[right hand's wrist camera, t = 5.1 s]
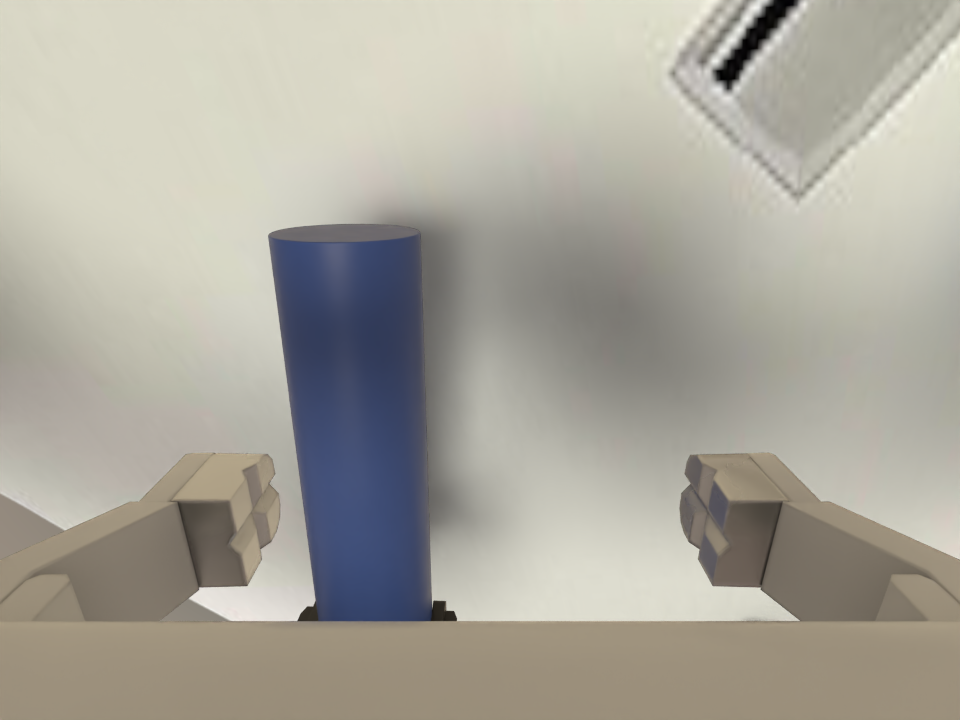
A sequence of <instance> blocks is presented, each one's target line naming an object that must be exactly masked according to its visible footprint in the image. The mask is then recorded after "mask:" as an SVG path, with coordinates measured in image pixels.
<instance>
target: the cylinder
mask: <svg viewBox="0 0 960 720" xmlns="http://www.w3.org/2000/svg"><path fill="white" fill-rule="evenodd" d="M268 238H269V246H270V253H271V261H272V269H273V276H274V284H275V292H276V299H277V307H278V315H279V322H280V330H281V338H282V345H283V353H284V361H285V368H286V376H287V384H288V391H289V399H290V407H291V414H292V422H293V430H294V437H295V445H296V453H297V460H298V468H299V476H300V483H301V491H302V499H303V506H304V514H305V522H306V529H307V537H308V545H309V552H310V560H311V568H312V575H313V583H314V590H315V598H316V606H317V613H318V621H431V618H432V592H431V560H430V527H429V495H428V462H427V430H426V398H425V365H424V333H423V300H422V268H421V235H420V231H419V230H417V229H414V228H410V227H403V226H394V225H378V224H334V225H315V226H303V227H294V228H287V229H282V230H278V231H274V232H272V233H270V234H269V235H268Z"/></svg>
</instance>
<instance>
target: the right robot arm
mask: <svg viewBox="0 0 960 720" xmlns="http://www.w3.org/2000/svg"><path fill="white" fill-rule="evenodd" d="M274 475H275V470H274V465H273V460H272V458H271V457H270V456H269V455H268V454H234V453H217V454H216V453H191V454H186V455H185V456H184V457H183V458H182V459H181V460H180V461H179V462H178V463H177V464H176V465H175V466H174V467H173V468H172V469H171V470H170V471H169V472H168V473H167V474H166V475H165V476H164V477H163V478H162V479H161V480H160V481H159V482H158V483H157V484H156V485H155V486H154V487H153V488H152V489H151V490H150V491H149V492H148V493H147V494H146V495H145V496H144V497H143V498H142V499H141V500H140V501H139V502H128V503H126V504H124V505H122V506H120V507H117V508H115V509H113V510H111V511H108V512H106V513H104V514H102V515H99V516H97V517H95V518H93V519H90V520H88V521H86V522H84V523H81V524H79V525H77V526H75V527H72V528H70V529H68V530H66V531H63V532H61V533H59V534H57V535H54V536H52V537H50V538H48V539H46V540H43V541H41V542H39V543H37V544H34V545H32V546H30V547H28V548H25V549H23V550H21V551H19V552H16V553H14V554H12V555H10V556H7V557H5V558H3V559H1V560H0V720H960V560H959V559H957V558H954V557H952V556H950V555H948V554H946V553H943V552H941V551H939V550H937V549H934V548H932V547H930V546H928V545H925V544H923V543H921V542H919V541H916V540H914V539H912V538H910V537H908V536H905V535H903V534H901V533H899V532H896V531H894V530H892V529H890V528H887V527H885V526H883V525H881V524H878V523H876V522H874V521H872V520H870V519H867V518H865V517H863V516H861V515H858V514H856V513H854V512H852V511H849V510H847V509H845V508H843V507H840V506H838V505H836V504H834V503H831V502H821V501H820V500H819V499H818V498H817V497H816V496H815V495H814V494H813V493H812V492H811V491H810V490H809V489H808V488H807V487H806V486H805V485H804V484H803V483H802V482H801V481H800V480H799V479H798V478H797V477H796V476H795V475H794V474H793V473H792V472H791V471H790V470H789V469H788V468H787V467H786V466H785V465H784V464H783V463H782V462H781V461H780V460H779V459H778V458H777V457H776V456H775V455H773V454H771V453H745V454H706V455H690V457H689V459H688V461H687V464H686V469H685V475H686V477H687V478H688V480H689V482H690V483H691V484H690V485H689V486H688V487H687V488H686V489H685V490H684V491H683V492H682V493H681V500H680V519H681V525H682V528H683V531H684V534H685V536H686V538H687V540H688V541H689V543H691V544H693V545H694V546H696V547H697V548H699V549H700V550H699V556H698V560H699V562H700V564H701V566H702V567H703V569H704V571H705V573H706V575H707V576H708V578H709V580H710V582H711V584H712V586H729V587H761V590H762V591H763V592H764V593H766V594H767V595H768V596H770V597H771V598H772V599H773V600H775V601H776V602H777V603H778V604H780V605H781V606H782V607H783V608H785V609H786V610H787V611H789V612H790V613H791V614H792V615H794V616H795V617H796V618H797V619H799V620H800V621H160V620H161V619H163V618H164V617H165V616H167V615H168V614H169V613H170V612H172V611H173V610H174V609H175V608H177V607H178V606H179V605H181V604H182V603H183V602H184V601H186V600H187V599H188V598H189V597H191V596H192V595H193V594H194V593H196V592H197V591H198V590H199V587H230V586H248V584H249V582H250V580H251V578H252V577H253V575H254V573H255V571H256V569H257V567H258V566H259V564H260V562H261V560H262V556H261V550H260V549H261V548H263V547H264V546H266V545H267V544H269V543H270V542H271V541H272V539H273V537H274V535H275V534H276V532H277V528H278V523H279V519H280V499H279V493H278V492H277V491H276V490H275V489H274V488H273V487H272V486H271V485H270V484H269V483H270V481H271V480H272V478H273V477H274Z"/></svg>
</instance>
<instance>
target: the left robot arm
mask: <svg viewBox="0 0 960 720" xmlns="http://www.w3.org/2000/svg"><path fill="white" fill-rule="evenodd" d="M298 621H318V613H317V606H316V601H315V604H314V606H313V607H306V609H305V610H304V611H303V612H302V613H301V614H300V616H299V619H298ZM431 621H457V618H456V615H455V612H454V611H446V601H434V602H433V608H432V618H431Z"/></svg>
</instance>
